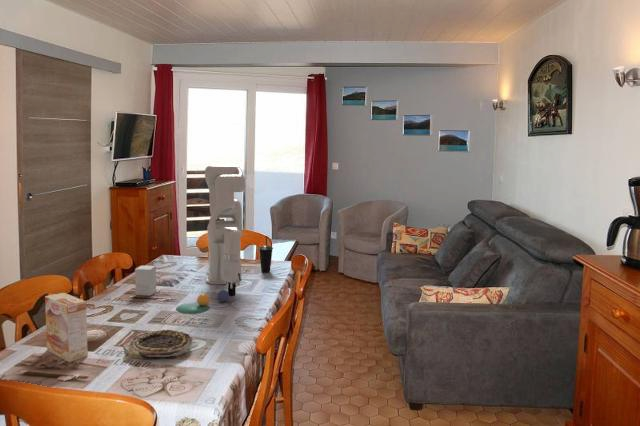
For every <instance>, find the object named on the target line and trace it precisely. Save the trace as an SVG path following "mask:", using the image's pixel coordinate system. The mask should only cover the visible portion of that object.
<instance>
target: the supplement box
mask: <svg viewBox="0 0 640 426" xmlns="http://www.w3.org/2000/svg"><path fill="white" fill-rule="evenodd" d="M156 270H157V269H156V265H140V266H138V267H136V268H135V269H134V278H135V280H134V281H135V296H152V295H153V294H155V293H156V292H157V276H156V275H157V273H156Z"/></svg>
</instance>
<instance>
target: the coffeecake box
mask: <svg viewBox="0 0 640 426" xmlns="http://www.w3.org/2000/svg"><path fill="white" fill-rule="evenodd" d="M44 303H45V304H44V305H45V306H44V307H45V327H46V328H45V330H46V351H47V352H49V353H51V354H53V355H55V356H56V357H59V358H60V359H62V360H64V361H66V362H68V363H71V362H73V361H77V360H80V359H84V358H86V357H88V356H89V355H88V324H87V323H88V322H87V300H83V299H81V298H78V297H76V296H74V295H71V294H68V293H67V292H66V293H65V292H60V293H56V294H49V295H45V296H44Z"/></svg>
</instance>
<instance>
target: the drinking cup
mask: <svg viewBox="0 0 640 426" xmlns="http://www.w3.org/2000/svg"><path fill="white" fill-rule="evenodd" d="M258 249H259V258H260V271H261V273H263V274H264V273H265V274H266V273H270V272H271V265H272V256H273V249H274V248H273V247H272V246H271V245H268V236H265V245H261V246H259V248H258Z"/></svg>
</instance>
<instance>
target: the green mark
mask: <svg viewBox="0 0 640 426" xmlns="http://www.w3.org/2000/svg"><path fill="white" fill-rule="evenodd" d="M208 310H210V306H209V304H208V305H206V306H200V305H199V304H198V302H190V303H188V302H187V303H184V304H180V305H178V306H176V311H177V312H178V313H182V314H187V313H188V314H189V315H193V314H201V313H204V312H207V311H208Z"/></svg>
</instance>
